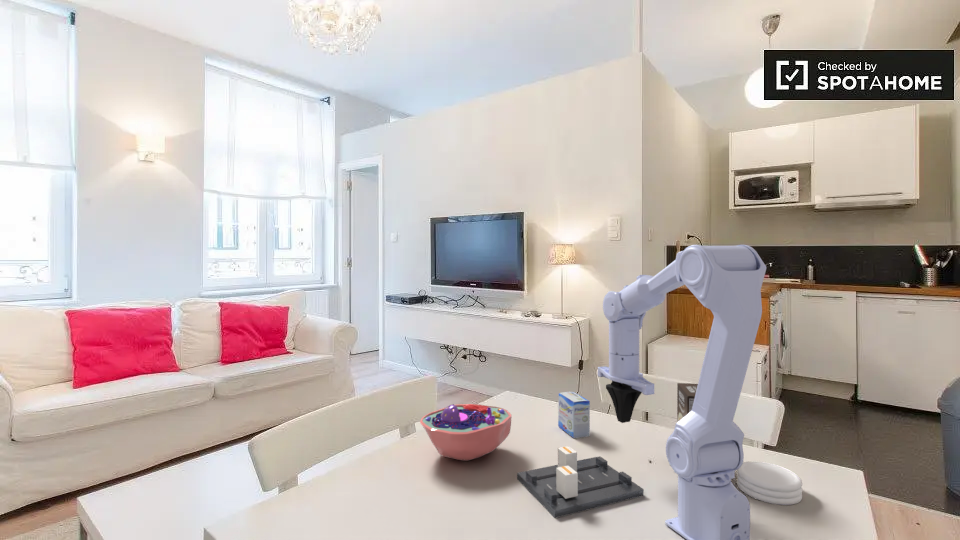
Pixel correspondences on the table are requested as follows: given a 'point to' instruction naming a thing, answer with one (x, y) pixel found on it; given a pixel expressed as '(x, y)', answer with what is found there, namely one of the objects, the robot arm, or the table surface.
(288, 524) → the table surface
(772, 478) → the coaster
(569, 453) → the far fader
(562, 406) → the medicine box
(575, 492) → the near fader
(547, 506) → the console
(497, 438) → the cell model
